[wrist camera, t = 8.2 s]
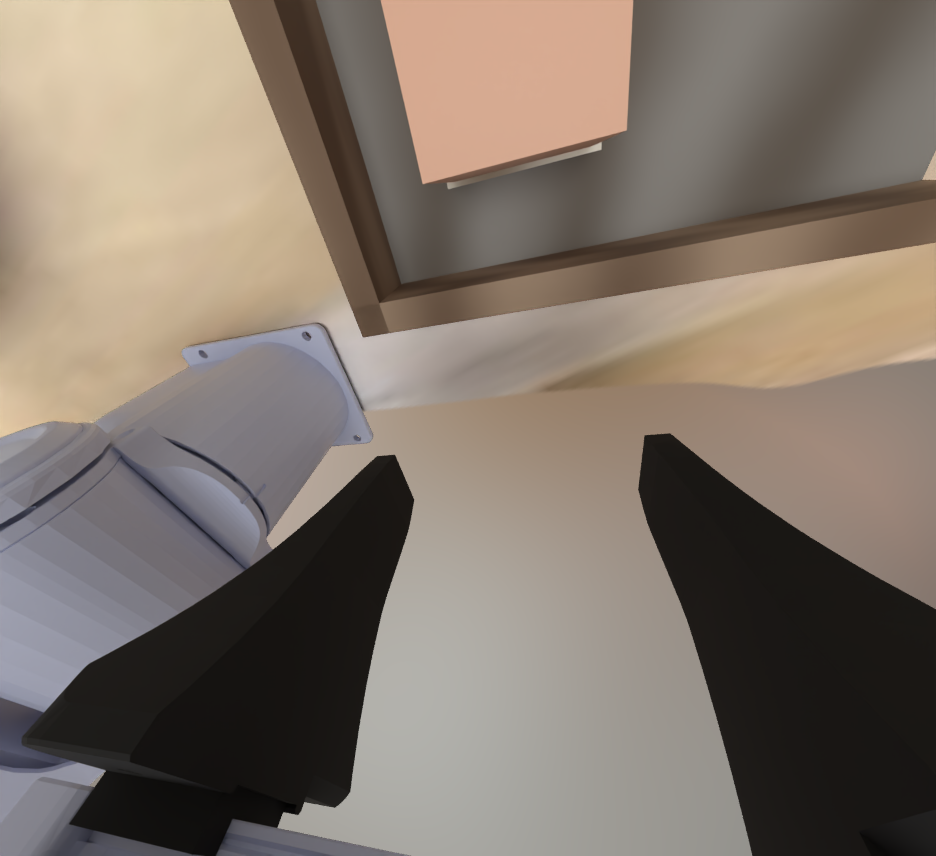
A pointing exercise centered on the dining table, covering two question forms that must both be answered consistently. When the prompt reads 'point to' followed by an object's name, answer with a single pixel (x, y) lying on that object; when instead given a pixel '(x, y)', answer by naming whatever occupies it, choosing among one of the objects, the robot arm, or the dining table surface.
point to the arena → (617, 157)
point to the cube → (508, 79)
